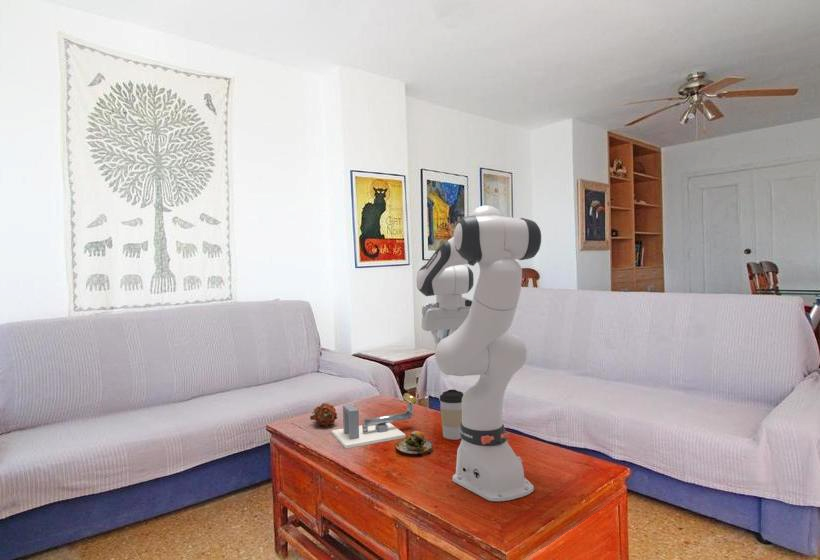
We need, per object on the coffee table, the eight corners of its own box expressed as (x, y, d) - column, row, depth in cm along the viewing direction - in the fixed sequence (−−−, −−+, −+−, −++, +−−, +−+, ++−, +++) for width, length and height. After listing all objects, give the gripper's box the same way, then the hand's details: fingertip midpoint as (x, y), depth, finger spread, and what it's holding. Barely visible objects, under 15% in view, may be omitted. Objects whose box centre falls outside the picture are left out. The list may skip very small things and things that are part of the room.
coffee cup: (468, 440, 161) (467, 395, 161) (440, 440, 162) (439, 395, 161) (465, 431, 170) (465, 388, 170) (439, 431, 171) (438, 388, 170)
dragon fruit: (331, 434, 174) (316, 430, 184) (347, 416, 179) (331, 413, 188) (316, 417, 172) (302, 414, 181) (333, 399, 176) (318, 397, 186)
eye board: (387, 423, 180) (387, 395, 179) (405, 437, 165) (405, 407, 165) (331, 433, 171) (331, 403, 170) (345, 448, 156) (344, 416, 156)
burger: (391, 446, 158) (390, 423, 158) (425, 441, 162) (425, 419, 162) (402, 460, 147) (401, 435, 147) (438, 455, 151) (438, 431, 150)
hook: (409, 420, 178) (409, 392, 178) (416, 425, 172) (416, 396, 172) (359, 429, 170) (359, 399, 169) (365, 434, 164) (364, 404, 164)
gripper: (426, 304, 163) (427, 346, 163) (478, 301, 171) (479, 340, 172) (418, 303, 168) (418, 343, 169) (469, 300, 177) (469, 338, 177)
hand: (449, 342), depth 170 cm, fingers open, 8 cm apart
